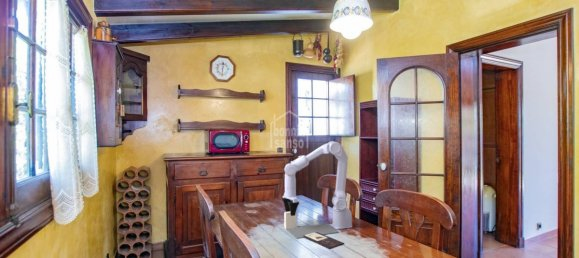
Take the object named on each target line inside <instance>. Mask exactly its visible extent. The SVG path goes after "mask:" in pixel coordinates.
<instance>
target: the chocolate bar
mask: <svg viewBox="0 0 579 258" xmlns="http://www.w3.org/2000/svg"><path fill="white" fill-rule="evenodd" d="M303 237H304V238H303V239H306V240H308V241H310V242H312V243H315V244H317V245H319V246H322V247H323V248H326V249H328V250H331V249H334V248H336V247H340V246H343V245H345V242H343V241H340V240H338V239H336V238H334V237H330V236H327V235H323V234H321V233H318V232H315V233H311V234H307V235H304V236H303Z"/></svg>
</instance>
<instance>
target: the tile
mask: <svg viewBox="0 0 579 258" xmlns="http://www.w3.org/2000/svg"><path fill="white" fill-rule="evenodd" d="M283 214H284V216H283V217H284V218H283V219H284V220H283V221H284V224H283V225H284V229H285V230H287V228H295V227H298V224H297V223H298V222H297V221H298V219H297V218H298V217H297V211H296V214H295V216H291V214H290V212H286V211H284V213H283Z"/></svg>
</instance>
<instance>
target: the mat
mask: <svg viewBox="0 0 579 258" xmlns="http://www.w3.org/2000/svg"><path fill="white" fill-rule="evenodd" d="M286 231H288V233H290V234H291V235H292V236H293V237H294V238H295V239H297V240H298V239H305V238H304V237H303V236H304V235H307V234H311V233H315V232H318V233H321V234H323V235H326V236H327V235H333V234H339V230H337V229H335V228H333V227H332V226H330V225H329V224H327V223H320V224H311V225H310V224H309V225H304V226H297V227H295V228H287V229H286Z"/></svg>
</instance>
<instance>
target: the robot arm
mask: <svg viewBox="0 0 579 258" xmlns="http://www.w3.org/2000/svg"><path fill="white" fill-rule="evenodd" d="M323 154H326V155H328V154H332V155H333V156H334V158H336V159H337V166H336V167H337V168H336V169H337V170H336V177H335V178H336V180H335V189H334V192H333V196H332V198H331V203H332V205H333V207H332V208H331V209H332V210H331V211H332V212H331V214H332V215H331V216H332V223H329V224H328V225H329V226H330V227H332V228H333V229H335V230H344V229H349V228H353V221H352V219H353V216H352V211H351V209H349V207H347V206H348V201H347V195H346V183H347V173H348V164H349V163H348V161H349V157H348V155H347V153H346V151H345V148H344V146H343V145H342V144H341V143H340V142H337V141H333V140H331V141H329V142H328V143H324V144H322V145H321V146H319V147H318V148H315V150H313V151H311V152H310V153H308V154H306V155H299V156H297V158H296V159H294V160H291V161H290V162H289V163H287V164H285V166H284V168H283V170H284V173H285V174H284V192H283V195H282V198H281V200H282V202H283V205H284V210H285V212H290V214H291V216H295V214H296V212H297V209H298V207H299V205H300V201H298V198H297V192H296V191H297V179H296V173H297V172H300V171H301V170H303V169H304V168H306V167H307V166H309V164H310V162H311V161H313V160H314V159H316V158H318V157H320V156H321V155H323Z"/></svg>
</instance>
